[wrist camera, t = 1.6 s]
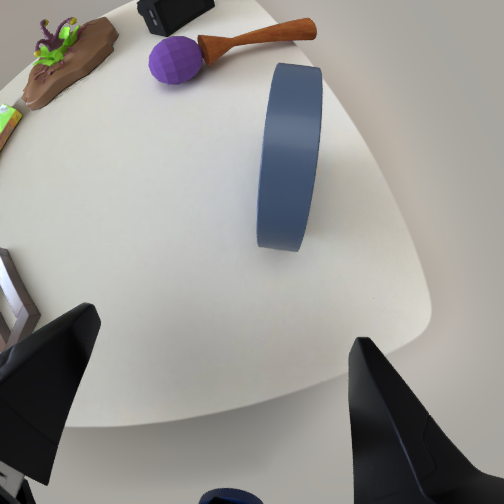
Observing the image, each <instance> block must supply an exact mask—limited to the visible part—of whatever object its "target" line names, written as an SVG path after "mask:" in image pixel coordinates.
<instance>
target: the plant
mask: <svg viewBox="0 0 504 504" xmlns="http://www.w3.org/2000/svg"><path fill="white" fill-rule="evenodd" d="M48 22H49V21H48V20H47V19H46V20H43V21H41V22H40V26H41V29H42V33H44V35H45V38H46V39H47V40H45V39H41V40H40V41H38V42H37V44H36V49H35V52H34V56H35V57H37V58H39V57H40V59H39V60H38V61H37V62H35V63H34V64H33V65H34V67H33V68H32V70H31V72H30V74H29V79H28V83H27V85H26V87H25V89H24V90H23V91H24V95H23V97H22V99H23V100H24V101H26V105H27V106H28V107H29V108H30V109H32V110H35V109H39V108H42V107H43V106H45V105H46V104H47V103H49V102H50V101H51V100H52V99H53V98H54V97H55V96H56V95H57V94H59V93H60V92H61V91H62V90H63V89H65V88H66V87H68V86H69V85H71V84H72V83H74V82H75V81H77V80H78V79H80V78H82V77H84V76H86V75H87V74H89V73H90V71H92V70H93V69H94V68H95V67H96V66H98V65H99V64H100V63H101V62H102V61H103V60H104V59H105V58H106V57H107V56H108V55H109V54H110V53H111V52H113V48H112V44H113V42H114V41H115V40H116V39H117V37H118V33H117V31H116V29H115V28H114V27H113V25H112V24H111V23H110V21H109V20H108V19H107V18H106V17H102V18H99V19H96V20H92V21H89V22H87V23H85V24H84V25H82V26H80V27H79V26H77V27H76V28H75V30H74V31H73V32H71V33H70V27H68V28H67V27H64V28H63V29H62V31H61V32H60V30H61V28H62V26H63V25H64V24H65V23H66V22H67V23H69V24H70V25H73V24H75V23H76V22H77V20H76V18H74V17H72V18H68V19H67V20H65V21H63V22H62V23H61V24H60V25H59V27H58V29H57V30H56V33H55V35H54V36H53V34H50V32H48V30H47V29H46V28H45V26H46V25H48ZM59 32H60V34H59ZM40 43H43V44H44V45H45V46H43V47H42V48H39V44H40Z"/></svg>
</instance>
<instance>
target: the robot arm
mask: <svg viewBox="0 0 504 504" xmlns="http://www.w3.org/2000/svg"><path fill="white" fill-rule="evenodd" d="M100 326H101V320H100V318H99V315H98V313H97V310H96V308H95V306H94V305H93V304H90V303H82V304H80V305H78V306H77V307H75V308H73V309H72V310H70V311H68V312H67V313H65V314H63V315H61V316H60V317H58V318H56V319H55V320H53V321H51V322H50V323H48V324H46V325H45V326H43V327H42V328H40V329H38V330H37V331H35V332H33V333H32V334H30V335H29V336H27V337H25V338H24V339H22V340H21V341H19V342H17V343H16V344H14V346H11V347H9V348H8V349H6V350H5V351H3V352H2V353H0V504H36V503H35V500H34V498H33V495H32V492H31V489H30V487H29V484H28V481H27V480H26V479H25V478H24V477H25V475H26V476H28V477H30V478H31V479H33V480H35V481H37V482H40V483H42V484H44V485H46V486H47V485H48V483H49V479H50V475H51V470H52V467H53V463H54V459H55V456H56V452H57V449H58V445H59V441H60V438H61V435H62V432H63V429H64V426H65V423H66V420H67V417H68V414H69V411H70V408H71V405H72V403H73V400H74V397H75V394H76V392H77V389H78V387H79V384H80V382H81V379H82V377H83V374H84V372H85V369H86V367H87V364H88V362H89V359H90V356H91V353H92V350H93V347H94V344H95V341H96V338H97V335H98V332H99V329H100ZM348 361H349V392H348V393H349V394H348V397H349V398H348V399H349V412H350V424H351V436H352V451H353V475H354V504H504V479H503V478H500V477H496V476H492V475H488V474H485V473H483V472H481V471H480V470H478V469H477V468H476V467H474V466H473V465H472V464H471V462H470V461H469V460H468V459H467V458H466V457H465V456H464V455H463V454H462V453H461V451H460V450H459V449H458V448H457V447H456V446H455V445H454V444H453V443H452V442H451V440H450V439H449V438H448V437H447V436H446V435H445V434H444V432H443V431H442V430H441V428H440V427H439V426H438V425H437V423H436V422H435V421H434V419H433V418H432V417H431V415H429V413H428V411H427V410H426V409H425V407H424V406H423V405H422V403H421V402H420V401H419V399H418V398H417V397H416V395H415V394H414V393H413V392H412V390H411V389H410V388H409V386H408V385H407V384H406V383H405V381H404V380H403V379H402V377H401V376H400V375H399V374H398V372H397V371H396V370H395V369H394V367H393V366H392V365H391V364H390V362H389V361H388V360H387V358H386V357H385V356H384V355H383V353H382V352H381V351H380V350H379V349H378V347H377V346H376V345H375V344H374V342H373V341H372V340H371V339H370V338H369V337H357V338H356V339H355V341H354V344H353V346H352V348H351V351H350V353H349V360H348ZM216 500H217V501H216ZM208 504H236V503H233V502H230V501H228V500H225V499H222V498H219V497H212V498H211V500H210V501H209V503H208Z"/></svg>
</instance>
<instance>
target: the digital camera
mask: <svg viewBox="0 0 504 504" xmlns="http://www.w3.org/2000/svg"><path fill="white" fill-rule="evenodd" d="M137 5H138V6H137V10H138V13H139V14H140V15H141V16H143V18H144V20H145V22H146V24H147V27H148V29H149V31H150V33H151V34H156V35H161V36H165V37H168V36H169V35H171V34H172V33H174V32H175V31H176V30H178V29H179V28H181V27H182V26H184V25H185V24H187V23H188V22H190V21H191V20H193V19H195V18H196V17H198V16H199V15H201V14H203V13H204V12H206V11H208V10H209V9H211V8H213V7H215V4H214V0H140V1H138V2H137Z"/></svg>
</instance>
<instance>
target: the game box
mask: <svg viewBox="0 0 504 504" xmlns="http://www.w3.org/2000/svg"><path fill="white" fill-rule="evenodd" d="M21 117H22V114H21V113H20V112H19V111H18V110H16V109H15V108H12V107H10V106H8V105H6V104H3V105H2V107H1V108H0V151H1V149H2V147H3V145H4V144H5V142H6V140H7V139H8V137H9V135H10V134H11V132H12V131H13V129H14V127H15V126H16V124H17V123H18V121H19V120H20V118H21Z"/></svg>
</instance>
